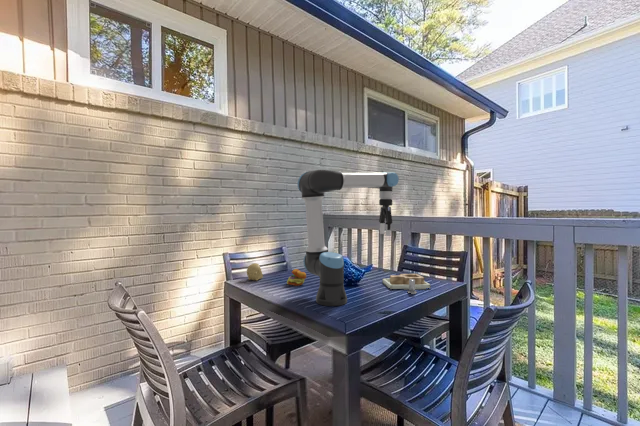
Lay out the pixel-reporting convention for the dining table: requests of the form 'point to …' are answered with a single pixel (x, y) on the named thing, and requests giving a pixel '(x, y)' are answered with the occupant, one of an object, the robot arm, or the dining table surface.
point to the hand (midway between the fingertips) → (385, 234)
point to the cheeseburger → (296, 278)
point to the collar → (405, 279)
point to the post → (412, 287)
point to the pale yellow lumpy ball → (254, 272)
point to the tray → (417, 286)
